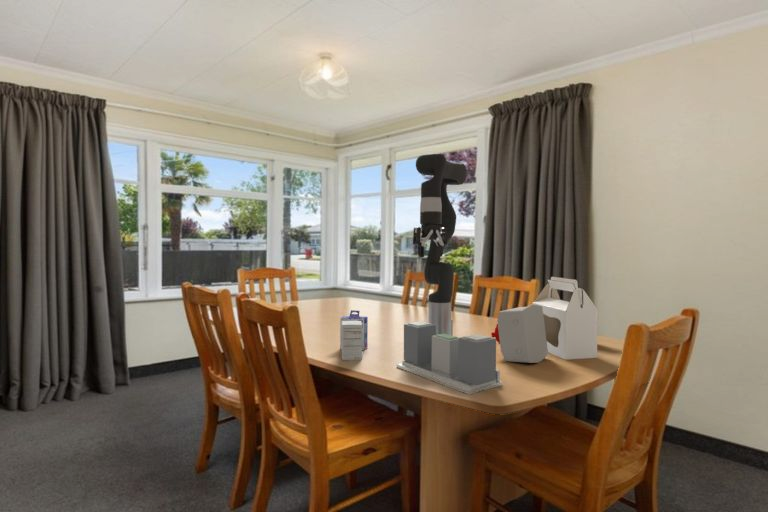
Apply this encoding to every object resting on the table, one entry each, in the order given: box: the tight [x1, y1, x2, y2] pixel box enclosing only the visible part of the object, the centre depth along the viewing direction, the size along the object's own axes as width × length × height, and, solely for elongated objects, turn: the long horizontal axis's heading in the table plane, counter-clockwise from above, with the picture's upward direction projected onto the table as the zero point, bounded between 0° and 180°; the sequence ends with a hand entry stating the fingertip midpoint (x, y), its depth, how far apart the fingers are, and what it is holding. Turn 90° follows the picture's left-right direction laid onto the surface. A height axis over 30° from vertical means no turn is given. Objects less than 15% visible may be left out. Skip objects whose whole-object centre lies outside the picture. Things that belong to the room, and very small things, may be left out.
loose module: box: [431, 334, 460, 374], centre depth 136 cm, size 5×8×10 cm, turn 36°
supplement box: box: [341, 321, 363, 361], centre depth 157 cm, size 7×7×13 cm
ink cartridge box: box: [339, 309, 369, 351], centre depth 171 cm, size 10×6×14 cm, turn 78°
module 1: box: [403, 321, 436, 365], centre depth 146 cm, size 8×7×12 cm
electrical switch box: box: [491, 304, 549, 364], centre depth 158 cm, size 15×15×20 cm
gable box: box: [531, 276, 599, 361], centre depth 167 cm, size 22×13×28 cm, turn 12°
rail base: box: [396, 360, 503, 395], centre depth 137 cm, size 14×32×4 cm, turn 36°
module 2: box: [458, 333, 497, 386], centre depth 126 cm, size 8×7×12 cm
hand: (430, 257), depth 155 cm, fingers open, 8 cm apart
